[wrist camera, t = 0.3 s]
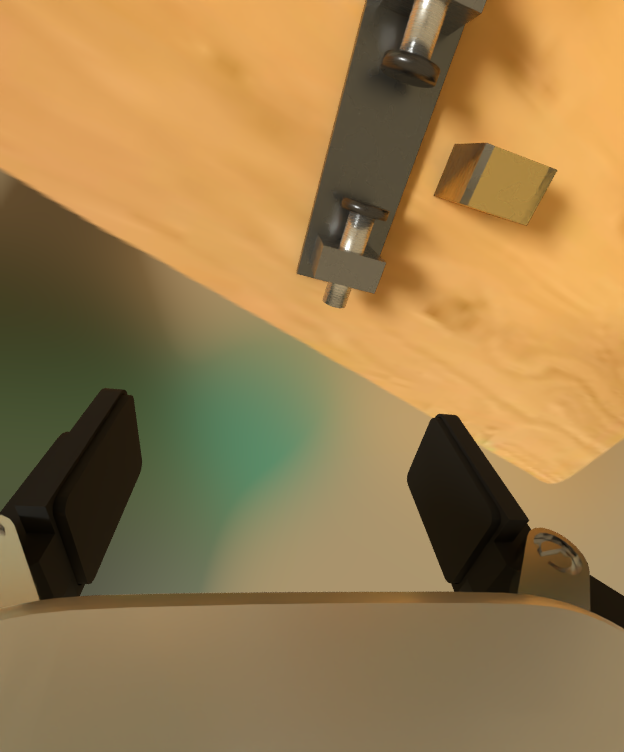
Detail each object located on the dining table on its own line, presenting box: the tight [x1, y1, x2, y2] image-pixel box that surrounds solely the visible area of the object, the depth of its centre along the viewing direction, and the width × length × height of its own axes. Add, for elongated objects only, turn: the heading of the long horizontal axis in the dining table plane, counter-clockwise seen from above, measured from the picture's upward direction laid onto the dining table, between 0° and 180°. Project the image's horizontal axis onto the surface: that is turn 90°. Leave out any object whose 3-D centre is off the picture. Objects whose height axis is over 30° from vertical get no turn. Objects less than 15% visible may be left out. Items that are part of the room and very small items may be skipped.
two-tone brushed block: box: [434, 143, 557, 225], centre depth 32 cm, size 7×4×6 cm, turn 74°
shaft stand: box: [297, 0, 486, 308], centre depth 30 cm, size 28×8×7 cm, turn 164°
